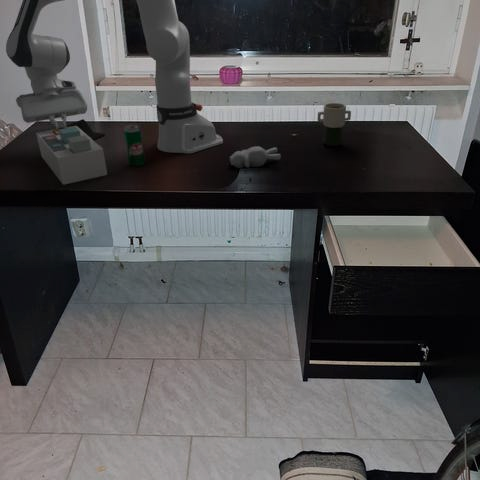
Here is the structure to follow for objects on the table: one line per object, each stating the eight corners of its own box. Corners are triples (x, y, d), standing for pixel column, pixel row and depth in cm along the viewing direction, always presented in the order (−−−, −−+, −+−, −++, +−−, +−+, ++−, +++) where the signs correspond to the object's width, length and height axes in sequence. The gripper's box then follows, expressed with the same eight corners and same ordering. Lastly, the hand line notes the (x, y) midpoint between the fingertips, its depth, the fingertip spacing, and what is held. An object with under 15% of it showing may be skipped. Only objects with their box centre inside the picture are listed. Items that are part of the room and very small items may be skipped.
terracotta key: (71, 140, 163) (68, 126, 161) (75, 144, 160) (72, 130, 157) (55, 142, 161) (52, 129, 159) (59, 147, 157) (56, 133, 155)
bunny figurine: (228, 148, 153) (275, 140, 153) (230, 163, 155) (277, 155, 156) (230, 159, 145) (280, 150, 145) (233, 175, 147) (282, 166, 148)
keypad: (81, 148, 168) (76, 124, 164) (107, 174, 147) (102, 147, 143) (41, 156, 162) (35, 131, 158) (63, 184, 141) (57, 156, 137)
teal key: (77, 140, 155) (75, 126, 152) (82, 145, 151) (79, 130, 149) (61, 144, 152) (58, 129, 150) (65, 148, 149) (62, 133, 146)
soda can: (131, 168, 151) (126, 130, 145) (126, 163, 155) (121, 125, 149) (147, 165, 153) (142, 127, 147) (142, 160, 157) (137, 123, 151)
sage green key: (87, 149, 147) (84, 135, 145) (92, 154, 143) (89, 139, 141) (70, 153, 145) (67, 138, 143) (74, 158, 141) (71, 142, 139)
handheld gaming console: (90, 140, 170) (72, 116, 169) (77, 152, 173) (59, 128, 172) (107, 135, 180) (90, 112, 179) (95, 146, 184) (78, 123, 182)
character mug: (345, 140, 168) (348, 102, 162) (351, 147, 162) (354, 107, 156) (314, 141, 168) (316, 103, 161) (318, 148, 162) (320, 109, 155)
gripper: (13, 90, 153) (27, 128, 150) (79, 81, 162) (93, 117, 160) (14, 101, 158) (28, 139, 156) (78, 92, 168) (91, 127, 165)
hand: (61, 128), depth 158 cm, fingers closed, pressing on terracotta key
